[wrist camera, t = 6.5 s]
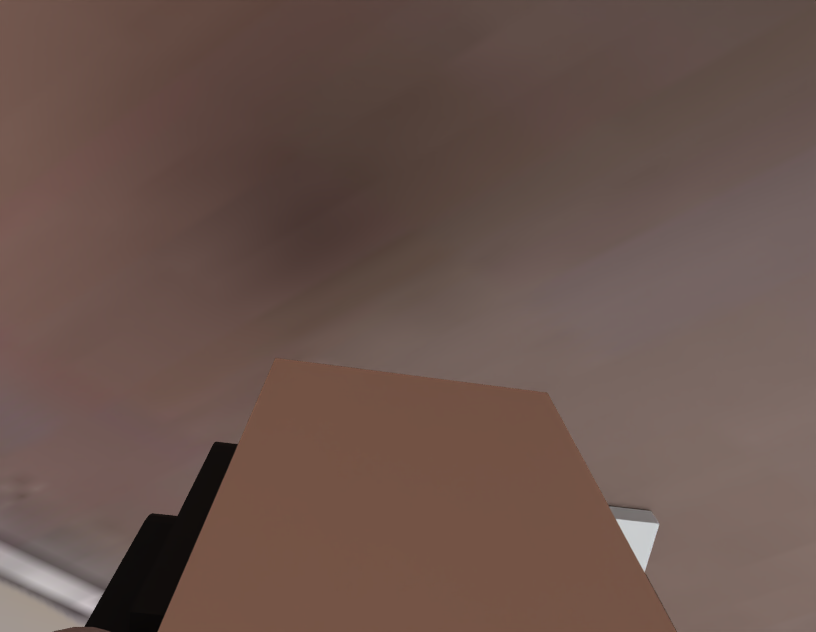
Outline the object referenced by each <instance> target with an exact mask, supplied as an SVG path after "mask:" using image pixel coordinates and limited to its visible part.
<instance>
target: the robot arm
mask: <svg viewBox="0 0 816 632" xmlns="http://www.w3.org/2000/svg"><path fill="white" fill-rule="evenodd" d="M237 446H238V444H231V443H223V442H215V443H214V444H213V446H212V448H211V450H210V452H209V454H208V456H207V458H206V460H205V462H204V464H203V466H202V468H201V470H200V472H199V474H198V476H197V478H196V480H195V482H194V484H193V486H192V488H191V490H190V492H189V494H188V496H187V498H186V500H185V502H184V504H183V506H182V508H181V510H180V512H179V514H178V516H172V515H163V514H154V513H152V514H150V515H149V516H148V517H147V518H146V520H145V521H144V523H143V525H142V527H141V528H140V530H139V532H138V534H137V535H136V537H135V539H134V541H133V542H132V544H131V546H130V548H129V549H128V551H127V553H126V555H125V556H124V558H123V560H122V562H121V564H120V565H119V567H118V569H117V571H116V572H115V574H114V576H113V578H112V579H111V581H110V583H109V585H108V586H107V588H106V590H105V592H104V593H103V595H102V597H101V599H100V600H99V602H98V604H97V606H96V607H95V609H94V611H93V613H92V614H91V616H90V618H89V620H88V622H87V623H86V625H85V627H72V628H67V629H63V630H58V631H54V632H158V630H159V627H160V625H161V623H162V620H163V618H164V616H165V613H166V611H167V609H168V606H169V604H170V602H171V599H172V597H173V595H174V592H175V590H176V588H177V585H178V583H179V581H180V578H181V576H182V574H183V572H184V569H185V567H186V565H187V562H188V560H189V558H190V555H191V553H192V551H193V548H194V546H195V544H196V541H197V539H198V537H199V534H200V532H201V530H202V527H203V525H204V523H205V520H206V518H207V516H208V513H209V511H210V509H211V506H212V504H213V502H214V499H215V497H216V495H217V492H218V490H219V488H220V486H221V483H222V481H223V479H224V476H225V474H226V472H227V469H228V467H229V465H230V462H231V460H232V458H233V455H234V453H235V451H236V448H237ZM646 576H647V575H646ZM647 578H648V577H647ZM648 580H649V579H648ZM649 582H650V581H649ZM650 584H651V583H650ZM651 586H652V585H651ZM653 589H654V588H653ZM654 591H655V590H654ZM655 593H656V592H655ZM656 595H657V594H656ZM657 597H658V596H657ZM660 602H661V601H660ZM661 604H662V603H661ZM662 606H663V605H662ZM663 608H664V607H663ZM664 610H665V609H664ZM667 615H668V614H667ZM668 617H669V616H668ZM669 619H670V618H669ZM670 621H671V620H670ZM671 623H672V622H671ZM674 628H675V627H674ZM675 630H676V629H675ZM676 632H677V631H676Z"/></svg>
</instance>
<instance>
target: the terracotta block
mask: <svg viewBox="0 0 816 632" xmlns="http://www.w3.org/2000/svg"><path fill="white" fill-rule="evenodd" d="M158 632H676V630H675V628H674V626H673V624H672V623H671V621H670V619H669V617H668V615H667V613H666V611H665V610H664V608H663V606H662V604H661V602H660V600H659V598H658V597H657V595H656V593H655V591H654V589H653V587H652V586H651V584H650V582H649V580H648V578H647V576H646V574H645V573H644V571H643V569H642V567H641V565H640V563H639V561H638V560H637V558H636V556H635V554H634V552H633V550H632V548H631V547H630V545H629V543H628V541H627V539H626V537H625V536H624V534H623V532H622V530H621V528H620V526H619V524H618V523H617V521H616V519H615V517H614V515H613V513H612V511H611V510H610V508H609V506H608V504H607V502H606V500H605V498H604V497H603V495H602V493H601V491H600V489H599V487H598V486H597V484H596V482H595V480H594V478H593V476H592V474H591V473H590V471H589V469H588V467H587V465H586V463H585V461H584V460H583V458H582V456H581V454H580V452H579V450H578V449H577V447H576V445H575V443H574V441H573V439H572V437H571V436H570V434H569V432H568V430H567V428H566V426H565V424H564V423H563V421H562V419H561V417H560V415H559V413H558V411H557V410H556V408H555V406H554V404H553V402H552V400H551V399H550V397H549V395H548V393H545V392H538V391H530V390H522V389H514V388H506V387H498V386H491V385H483V384H475V383H467V382H459V381H451V380H444V379H436V378H428V377H420V376H412V375H405V374H397V373H389V372H381V371H373V370H365V369H358V368H350V367H342V366H334V365H326V364H318V363H311V362H303V361H295V360H287V359H279V358H275V360H274V362H273V365H272V367H271V369H270V372H269V374H268V376H267V379H266V381H265V383H264V386H263V388H262V390H261V393H260V395H259V397H258V400H257V402H256V404H255V406H254V409H253V411H252V413H251V416H250V418H249V420H248V423H247V425H246V427H245V430H244V432H243V434H242V437H241V439H240V441H239V444H238V446H237V448H236V451H235V453H234V455H233V458H232V460H231V462H230V465H229V467H228V469H227V472H226V474H225V476H224V479H223V481H222V483H221V486H220V488H219V490H218V492H217V495H216V497H215V499H214V502H213V504H212V506H211V509H210V511H209V513H208V516H207V518H206V520H205V523H204V525H203V527H202V530H201V532H200V534H199V537H198V539H197V541H196V544H195V546H194V548H193V551H192V553H191V555H190V558H189V560H188V562H187V565H186V567H185V569H184V572H183V574H182V576H181V578H180V581H179V583H178V585H177V588H176V590H175V592H174V595H173V597H172V599H171V602H170V604H169V606H168V609H167V611H166V613H165V616H164V618H163V620H162V623H161V625H160V627H159V630H158Z"/></svg>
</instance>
